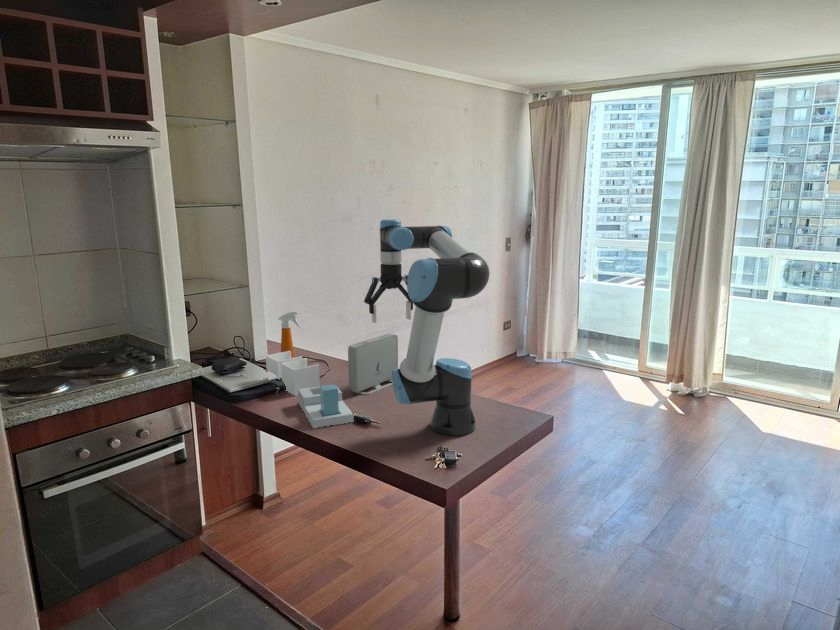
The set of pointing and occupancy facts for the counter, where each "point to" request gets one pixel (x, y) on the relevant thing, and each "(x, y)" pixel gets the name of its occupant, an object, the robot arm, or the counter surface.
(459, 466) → the counter surface
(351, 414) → the panel
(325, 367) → the counter surface
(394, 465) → the counter surface
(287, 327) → the spray bottle
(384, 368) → the network device
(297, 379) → the storage container
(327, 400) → the plug
